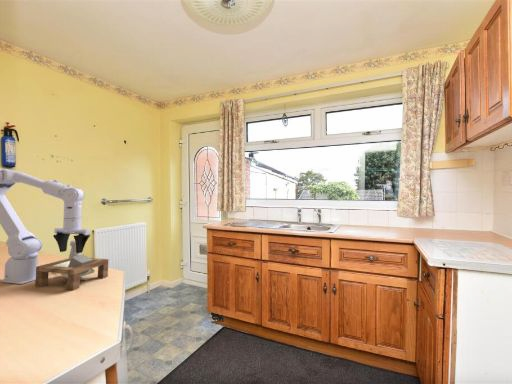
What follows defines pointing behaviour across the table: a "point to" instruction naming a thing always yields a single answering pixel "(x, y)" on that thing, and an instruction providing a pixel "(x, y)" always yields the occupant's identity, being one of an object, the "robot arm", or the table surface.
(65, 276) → the trapdoor
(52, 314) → the table surface
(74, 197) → the robot arm
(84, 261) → the pale grey cube
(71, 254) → the salt shaker
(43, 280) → the trapdoor frame
